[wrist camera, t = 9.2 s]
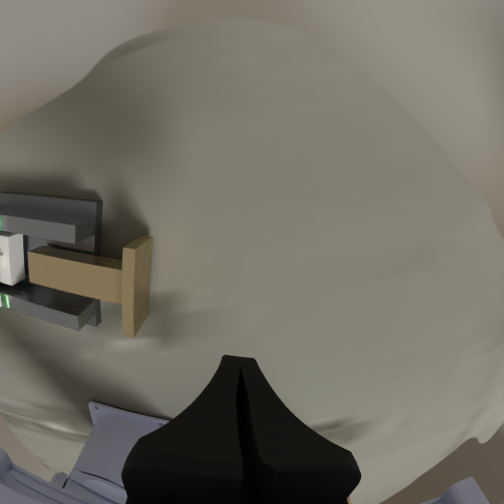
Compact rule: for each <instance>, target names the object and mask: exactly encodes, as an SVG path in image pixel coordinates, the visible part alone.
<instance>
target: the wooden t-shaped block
mask: <svg viewBox="0 0 504 504" xmlns="http://www.w3.org/2000/svg"><path fill="white" fill-rule="evenodd" d="M152 246H153V237H150V236H141V237H139V238H138V239H136V240H134V241H133V242H131V243H129V244H128V245H126V246H125V247H123V260H118V259H112V258H107V257H101V256H95V255H90V254H84V253H79V252H73V251H68V250H63V249H57V248H52V247H47V246H40V247H37V248H35V249H33V250H30V251H28V265H29V279H30V282H32V283H35V284H39V285H43V286H46V287H50V288H54V289H58V290H62V291H66V292H70V293H74V294H78V295H82V296H87V297H91V298H95V299H100V300H104V301H109V302H114V303H118V304H122V330H123V336H127V337H132V338H134V337H135V335H136V334H137V332H138V330H139V329H140V327H141V326H142V324H143V322H144V321H145V319H146V318H147V316H148V315H149V297H150V276H151V259H152Z"/></svg>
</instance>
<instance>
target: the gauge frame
mask: <svg viewBox="0 0 504 504" xmlns="http://www.w3.org/2000/svg"><path fill="white" fill-rule="evenodd" d="M102 204H103V201H96V200H87V199H77V198H67V197H57V196H47V195H36V194H24V193H12V192H0V232H2V231H6V232H12V233H17V234H22V235H23V253H24V270H25V279H23V280H21V281H19V282H18V283H16V284H14V285H12V286H11V285H8V284H5V283H2V282H0V296H1V302H2V306H3V307H5V308H10V309H13V310H15V311H18V312H21V313H24V314H27V315H30V316H33V317H35V318H38V319H42V320H45V321H48V322H51V323H54V324H57V325H61V326H64V327H67V328H71V329H74V330H78V331H80V330H81V328H82V327H83V326H84V325H85V324H88V325H92V326H96V327H97V326H98V324H99V323H100V322H101V308H100V299H95V298H91V297H87V296H82V295H78V294H74V293H70V292H66V291H62V290H58V289H54V288H50V287H46V286H43V285H39V284H35V283H32V282H30V279H29V265H28V251H30V250H33V249H35V248H37V247H40V246H47V247H52V248H57V249H63V250H68V251H73V252H79V253H84V254H90V255H95V256H100V235H101V217H102Z"/></svg>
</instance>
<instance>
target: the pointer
mask: <svg viewBox="0 0 504 504" xmlns="http://www.w3.org/2000/svg"><path fill="white" fill-rule="evenodd" d="M23 279H25V270H24V253H23V235H22V234H17V233H12V232H6V231H2V232H0V282H2V283H5V284H8V285H11V286H12V285H14V284H16V283H18V282H19V281H21V280H23ZM0 307H2V302H1V296H0Z"/></svg>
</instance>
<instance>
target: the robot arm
mask: <svg viewBox="0 0 504 504" xmlns="http://www.w3.org/2000/svg"><path fill="white" fill-rule="evenodd" d="M88 405H89V410H90V414H91V418H92V422H93V425H94V427H93V429H92V431H91V433H90V435H89V437H88V439H87V441H86V443H85V445H84V447H83V449H82V451H81V453H80V455H79V457H78V460H77V462H76V464H75V466H74V468H73V469H72V471H71V473H70V475H69V476H68V478H67V474H65V473H64V472H61V473H55V474H54V476H53V478H52V480H51V482H47V481H45V480H43V479H41V478H39V477H37V476H35V475H33V474H32V473H30V472H28V471H26V470H24V469H22V468H20V467H19V466H17V465H15V464H14V463H12V460H11V458H10V457H9V455H8V454H7V453H6V452H5V451H4V450H3V449H2V448H1V447H0V504H348V500H347V497H348V496H349V495H350V494H351V493H352V491H353V490H354V489H355V488H356V486H357V485H358V484H359V482H360V480H361V472H360V470H359V467H358V465H357V462H356V460H355V458H354V457H353V455H352V453H351V451H348V450H346V449H344V448H342V447H340V446H338V445H336V444H334V443H332V442H330V441H329V440H327V439H325V438H324V437H322V436H321V435H319V434H317V433H316V432H315V431H313V430H312V429H310V428H309V427H308V426H307V425H305V424H304V423H303V422H302V421H300V420H299V419H298V418H297V417H296V416H295V415H294V414H293V413H292V412H291V411H290V410H289V409H288V408H287V407H286V406H285V405H284V403H283V402H282V401H281V400H280V398H279V397H278V396H277V395H276V393H275V392H274V390H273V389H272V388H271V386H270V385H269V383H268V382H267V380H266V378H265V377H264V375H263V373H262V371H261V370H260V368H259V366H258V364H257V362H256V360H255V359H254V358H247V357H238V356H230V355H224V356H222V360H221V363H220V365H219V367H218V369H217V371H216V373H215V374H214V376H213V378H212V379H211V381H210V382H209V384H208V385H207V386H206V388H205V389H204V390H203V391H202V393H201V394H200V395H199V396H198V397H197V398H196V399H195V401H194V402H193V403H192V404H191V405H189V406H188V407H187V408H186V409H185V410H184V411H183V412H182V413H180V414H179V415H178V416H177V417H175V418H174V419H172V420H171V421H169V420H164V419H159V418H154V417H149V416H145V415H141V414H136V413H132V412H128V411H125V410H121V409H117V408H113V407H110V406H107V405H103V404H100V403H97V402H93V401H90V402H89V404H88ZM421 504H489V502H488V501H487V499H486V498H485V496H484V494H483V493H482V491H481V490H480V488H479V487H478V485H477V483H476V482H475V480H474V479H473V477H469V478H466V479H464V480H462V481H460V482H457V483H455V484H453V485H452V486H450V487H449V488H448V489H447V490H446V491H445V492H444V493H443V494H442V495H441V496H440V497H437V498H435V499H432V500H429V501H426V502H424V503H421Z"/></svg>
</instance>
